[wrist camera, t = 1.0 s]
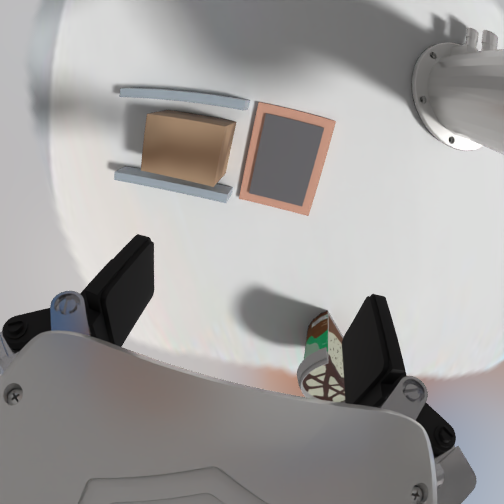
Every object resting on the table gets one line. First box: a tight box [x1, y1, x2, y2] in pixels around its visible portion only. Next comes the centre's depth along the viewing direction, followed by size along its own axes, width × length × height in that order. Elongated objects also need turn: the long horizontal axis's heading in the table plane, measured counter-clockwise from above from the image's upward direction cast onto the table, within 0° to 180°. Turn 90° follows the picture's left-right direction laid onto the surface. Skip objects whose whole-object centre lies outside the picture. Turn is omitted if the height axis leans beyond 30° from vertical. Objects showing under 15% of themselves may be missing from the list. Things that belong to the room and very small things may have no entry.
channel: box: [114, 88, 250, 203], centre depth 29 cm, size 11×14×2 cm
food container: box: [297, 311, 345, 403], centre depth 37 cm, size 12×6×10 cm, turn 33°
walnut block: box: [141, 110, 236, 187], centre depth 28 cm, size 6×8×5 cm
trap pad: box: [239, 102, 336, 216], centre depth 29 cm, size 11×8×1 cm
